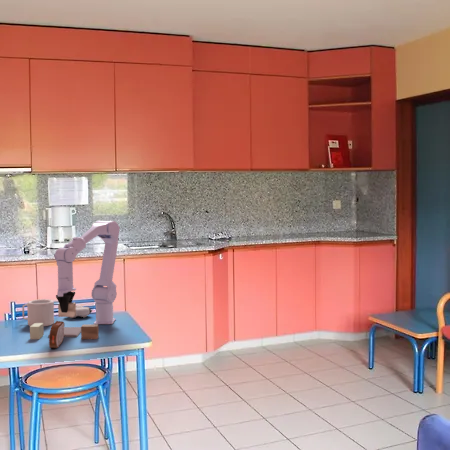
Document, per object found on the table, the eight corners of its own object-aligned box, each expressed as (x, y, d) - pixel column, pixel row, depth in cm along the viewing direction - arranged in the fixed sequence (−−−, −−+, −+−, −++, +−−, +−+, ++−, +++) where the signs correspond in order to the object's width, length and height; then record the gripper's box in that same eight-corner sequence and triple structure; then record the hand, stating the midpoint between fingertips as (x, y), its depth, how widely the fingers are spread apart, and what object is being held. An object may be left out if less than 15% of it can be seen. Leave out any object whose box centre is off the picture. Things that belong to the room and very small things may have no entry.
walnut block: (83, 337, 226) (83, 324, 226) (98, 337, 226) (98, 324, 226) (81, 339, 223) (81, 326, 222) (96, 339, 223) (96, 326, 223)
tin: (57, 340, 222) (57, 318, 221) (65, 340, 222) (65, 318, 221) (48, 351, 207) (47, 327, 206) (57, 351, 207) (56, 327, 206)
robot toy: (63, 315, 269) (64, 320, 255) (63, 305, 269) (64, 309, 255) (90, 313, 273) (92, 318, 258) (90, 304, 273) (92, 308, 258)
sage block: (30, 339, 223) (29, 326, 223) (34, 335, 229) (34, 323, 229) (39, 339, 223) (38, 326, 223) (43, 335, 229) (43, 323, 229)
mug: (58, 321, 252) (57, 299, 252) (48, 327, 242) (47, 304, 241) (28, 321, 254) (27, 298, 253) (17, 327, 243) (16, 303, 242)
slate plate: (56, 329, 239) (56, 327, 238) (83, 329, 239) (83, 327, 239) (48, 337, 226) (48, 335, 226) (76, 337, 226) (76, 335, 226)
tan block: (61, 314, 234) (61, 302, 233) (75, 314, 233) (75, 302, 233) (58, 316, 230) (58, 304, 230) (73, 316, 230) (73, 304, 230)
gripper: (69, 280, 223) (70, 315, 224) (80, 274, 238) (81, 307, 239) (51, 280, 224) (52, 315, 225) (63, 274, 238) (64, 307, 239)
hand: (66, 311), depth 232 cm, fingers closed on tan block, 3 cm apart
